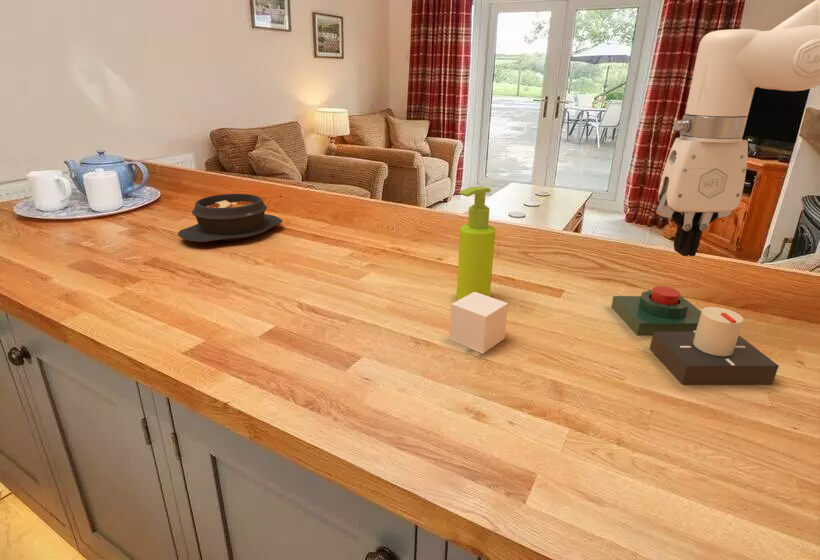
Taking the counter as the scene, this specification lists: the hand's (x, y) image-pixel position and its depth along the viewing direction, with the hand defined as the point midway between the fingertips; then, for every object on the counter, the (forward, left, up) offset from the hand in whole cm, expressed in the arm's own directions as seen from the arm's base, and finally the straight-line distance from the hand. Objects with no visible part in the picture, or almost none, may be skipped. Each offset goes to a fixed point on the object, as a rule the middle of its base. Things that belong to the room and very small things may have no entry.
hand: (684, 253), depth 75 cm
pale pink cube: (+32, +5, -12) cm, 35 cm away
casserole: (+84, -46, -12) cm, 96 cm away
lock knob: (+1, +13, -9) cm, 16 cm away
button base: (+1, -1, -12) cm, 12 cm away
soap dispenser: (+31, -9, -12) cm, 34 cm away
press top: (+1, -1, -9) cm, 8 cm away
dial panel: (+1, +13, -12) cm, 18 cm away
